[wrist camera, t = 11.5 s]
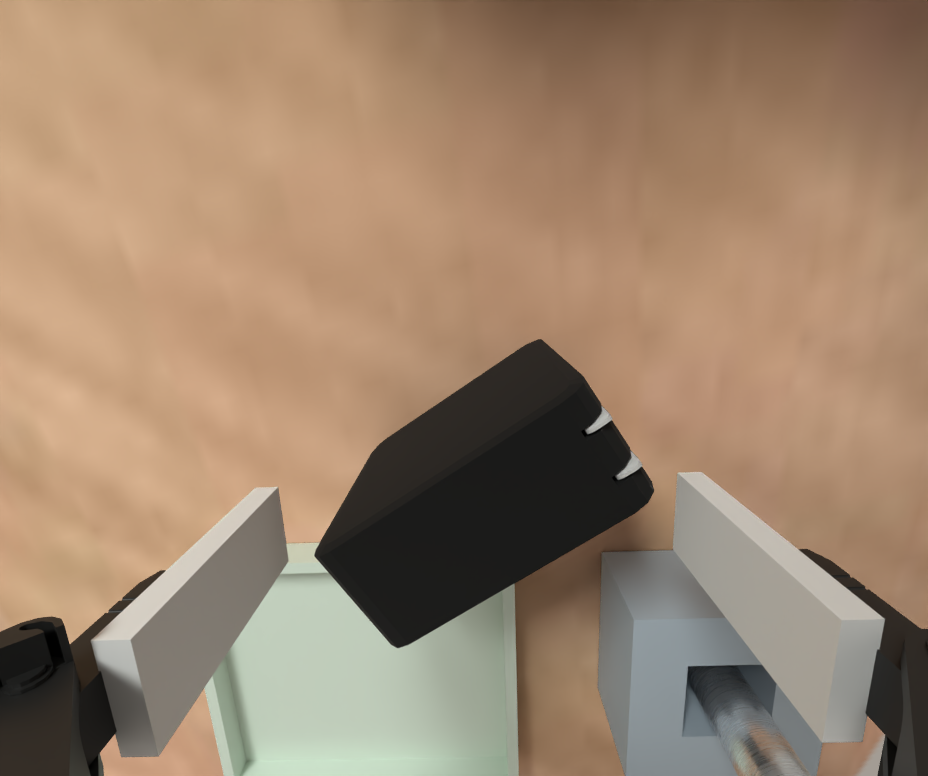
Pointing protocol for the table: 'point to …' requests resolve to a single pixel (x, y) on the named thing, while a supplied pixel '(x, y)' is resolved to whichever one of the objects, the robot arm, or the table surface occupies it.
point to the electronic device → (481, 495)
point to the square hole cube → (674, 669)
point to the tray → (364, 688)
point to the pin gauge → (743, 723)
